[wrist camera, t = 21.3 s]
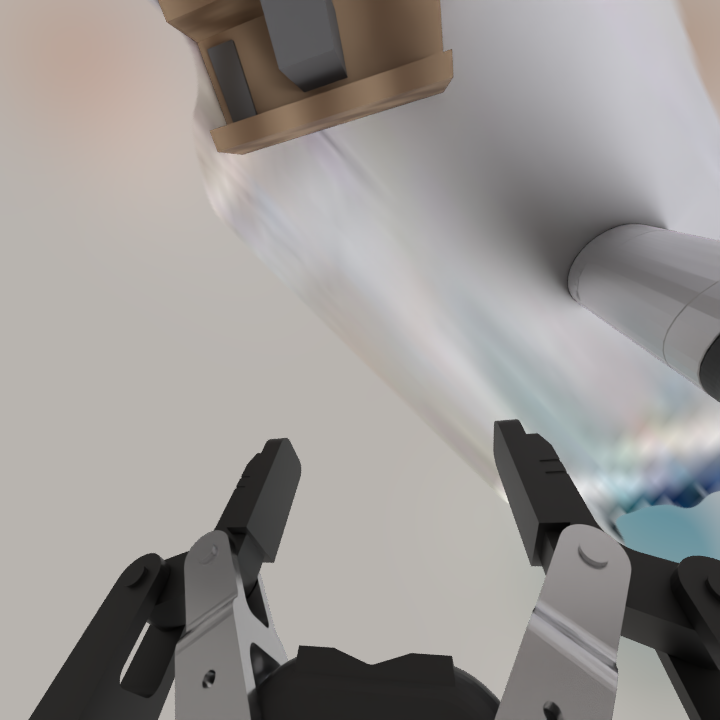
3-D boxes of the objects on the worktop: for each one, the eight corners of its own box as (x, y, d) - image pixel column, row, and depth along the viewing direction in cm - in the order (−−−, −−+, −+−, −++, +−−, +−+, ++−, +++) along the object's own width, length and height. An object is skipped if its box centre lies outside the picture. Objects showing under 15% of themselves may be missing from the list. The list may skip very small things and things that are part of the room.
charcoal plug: (335, 10, 23) (316, -45, 17) (347, 77, 25) (334, 49, 19) (288, 28, 24) (255, -18, 18) (304, 92, 26) (279, 69, 20)
